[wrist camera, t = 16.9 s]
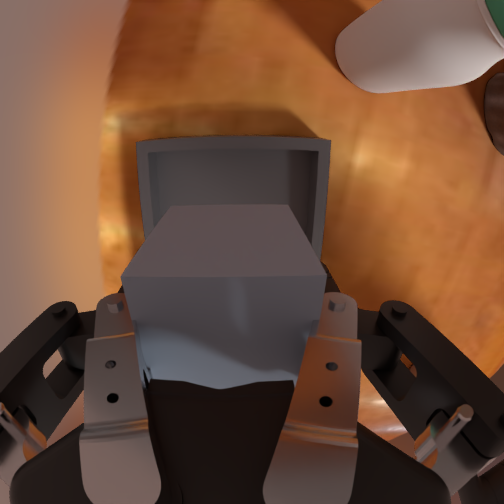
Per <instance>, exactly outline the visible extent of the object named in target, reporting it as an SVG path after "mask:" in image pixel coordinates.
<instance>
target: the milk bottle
mask: <svg viewBox="0 0 504 504" xmlns="http://www.w3.org/2000/svg"><path fill="white" fill-rule="evenodd" d="M335 55H336V59H337V62H338V65H339V67H340V69H341V70H342V72H343V73H344V75H345V76H346V77H347V78H348V79H349V80H350V81H351V82H352V83H353V84H354V85H356V86H357V87H359V88H361V89H363V90H365V91H368V92H372V93H388V92H397V91H406V90H417V89H427V88H440V87H449V86H456V85H461V84H465V83H468V82H470V81H473V80H475V79H476V78H478V77H480V76H481V75H482V74H484V73H485V72H486V71H487V70H488V69H489V68H490V67H491V66H493V65H494V64H495V63H496V62H498V61H500V60H501V59H503V58H504V0H382V1H381V2H379V3H378V4H376V5H375V6H373V7H372V8H371V9H369V10H368V11H366V12H365V13H364V14H362V15H361V16H360V17H358V18H357V19H356V20H354V21H353V22H352V23H350V24H349V25H348V26H347V27H346V28H345V29H343V30H342V31H341V33H340V34H339V36H338V38H337V40H336V44H335Z"/></svg>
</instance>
